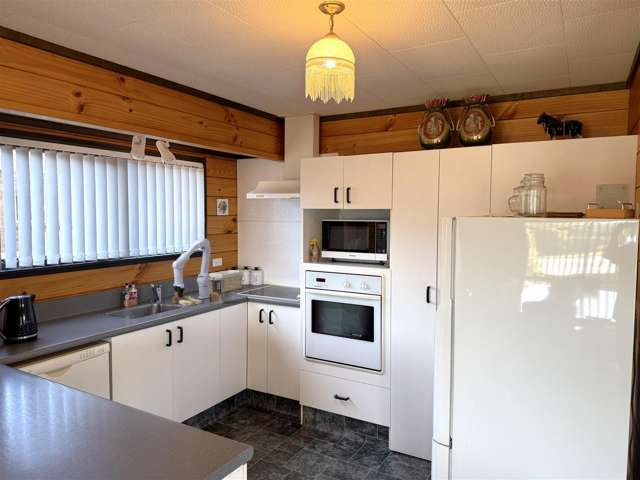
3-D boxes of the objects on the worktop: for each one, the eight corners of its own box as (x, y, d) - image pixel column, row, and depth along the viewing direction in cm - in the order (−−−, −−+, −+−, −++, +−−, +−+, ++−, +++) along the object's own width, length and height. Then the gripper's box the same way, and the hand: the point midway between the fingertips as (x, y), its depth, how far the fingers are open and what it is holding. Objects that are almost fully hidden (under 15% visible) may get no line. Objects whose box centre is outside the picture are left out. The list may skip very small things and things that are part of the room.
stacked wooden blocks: (186, 300, 324) (186, 290, 323) (189, 301, 320) (188, 291, 319) (172, 302, 317) (172, 292, 317) (175, 303, 314) (174, 293, 313)
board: (189, 298, 331) (189, 296, 330) (202, 303, 312) (202, 300, 312) (173, 301, 323) (173, 298, 323) (185, 306, 304) (185, 303, 304)
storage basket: (230, 286, 377) (229, 269, 376) (244, 288, 368) (243, 270, 367) (208, 291, 357) (207, 273, 356) (223, 293, 349) (222, 274, 347)
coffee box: (225, 302, 314) (224, 279, 313) (222, 304, 308) (221, 280, 307) (212, 302, 315) (211, 279, 314) (209, 304, 309) (208, 281, 308)
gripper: (169, 277, 320) (170, 296, 321) (176, 279, 309) (177, 299, 310) (179, 276, 324) (180, 294, 325) (186, 278, 313) (187, 297, 314)
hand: (179, 296), depth 318 cm, fingers closed on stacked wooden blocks, 4 cm apart
